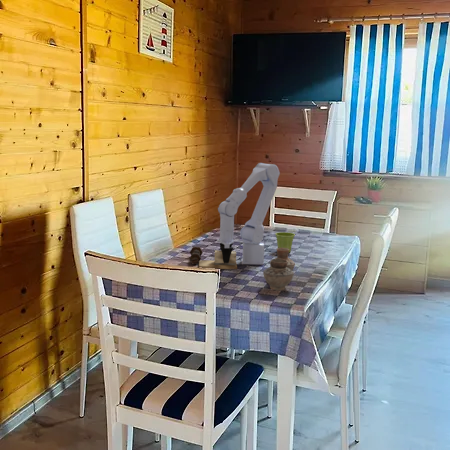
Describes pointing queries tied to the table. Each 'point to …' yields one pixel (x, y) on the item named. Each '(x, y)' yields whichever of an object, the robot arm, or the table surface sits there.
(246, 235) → the robot arm
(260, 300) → the table surface
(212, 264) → the board
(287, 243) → the plant pot
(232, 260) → the block
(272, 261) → the pottery
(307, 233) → the table surface
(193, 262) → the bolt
